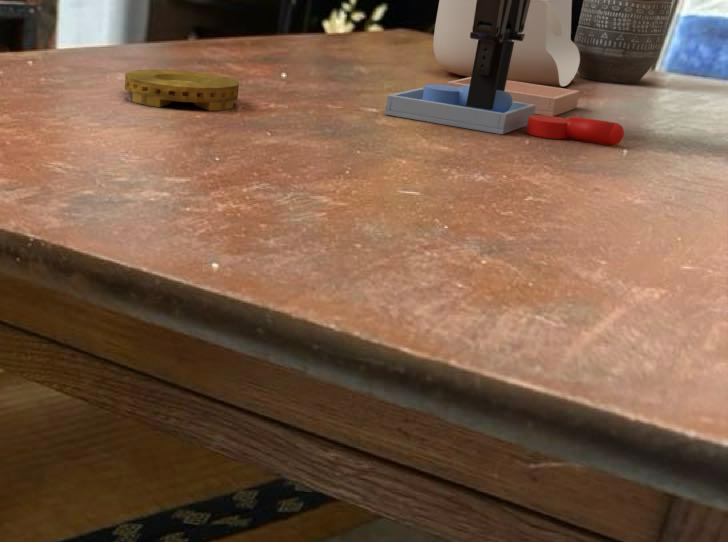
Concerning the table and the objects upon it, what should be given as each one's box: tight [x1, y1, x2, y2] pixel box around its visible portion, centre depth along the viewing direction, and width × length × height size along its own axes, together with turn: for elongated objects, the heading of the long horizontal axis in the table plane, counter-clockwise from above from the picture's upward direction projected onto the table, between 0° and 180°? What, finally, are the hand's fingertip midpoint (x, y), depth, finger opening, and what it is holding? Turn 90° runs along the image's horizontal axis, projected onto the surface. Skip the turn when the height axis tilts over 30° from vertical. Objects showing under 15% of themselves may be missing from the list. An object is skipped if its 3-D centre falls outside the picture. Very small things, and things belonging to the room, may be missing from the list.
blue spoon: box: [422, 83, 513, 113], centre depth 119 cm, size 10×4×2 cm, turn 58°
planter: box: [573, 0, 674, 85], centre depth 162 cm, size 12×12×13 cm
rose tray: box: [446, 77, 581, 117], centre depth 133 cm, size 13×10×2 cm
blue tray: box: [384, 87, 536, 135], centre depth 120 cm, size 13×10×2 cm
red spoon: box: [525, 114, 625, 146], centre depth 114 cm, size 10×4×2 cm, turn 58°
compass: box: [124, 69, 240, 111], centre depth 117 cm, size 12×12×2 cm
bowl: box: [432, 0, 580, 87], centre depth 153 cm, size 20×19×12 cm
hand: (483, 105), depth 118 cm, fingers closed on blue spoon, 2 cm apart
